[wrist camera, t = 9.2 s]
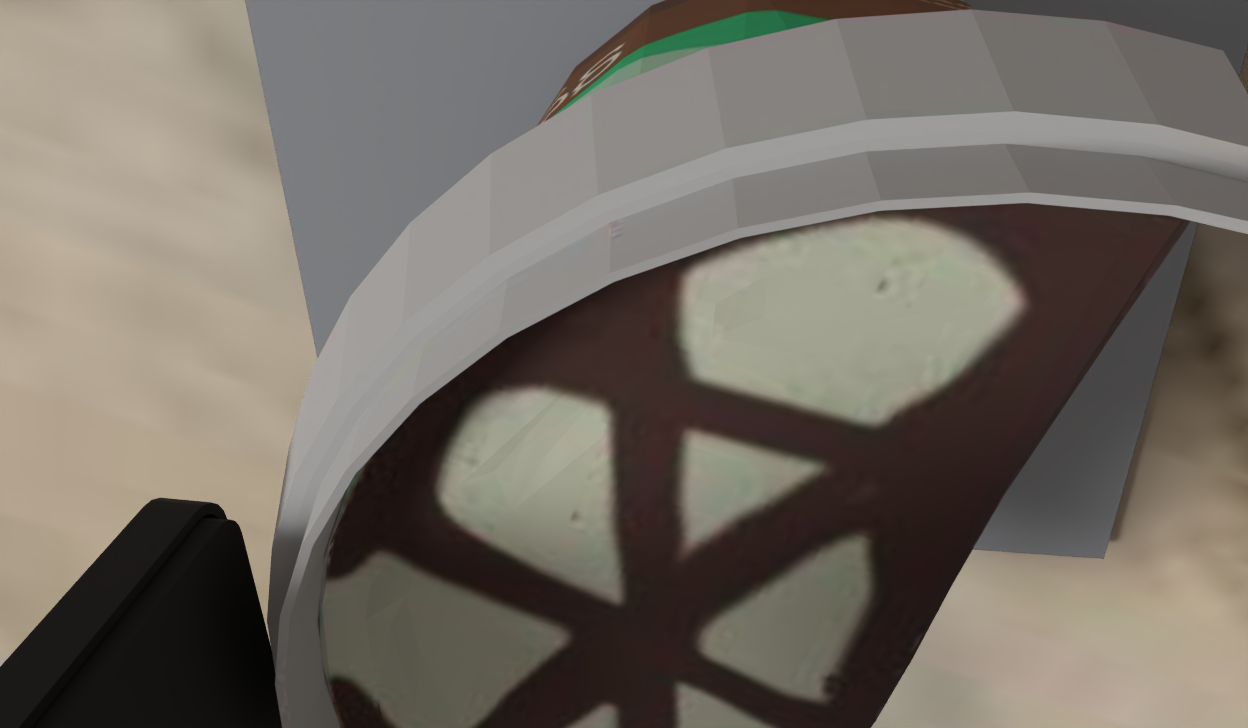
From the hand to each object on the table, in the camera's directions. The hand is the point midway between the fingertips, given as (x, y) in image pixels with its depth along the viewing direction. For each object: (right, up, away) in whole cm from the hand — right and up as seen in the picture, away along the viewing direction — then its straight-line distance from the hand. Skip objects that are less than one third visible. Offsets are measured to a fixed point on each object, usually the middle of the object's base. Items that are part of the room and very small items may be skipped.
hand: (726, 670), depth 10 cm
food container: (-1, +6, +8) cm, 10 cm away
